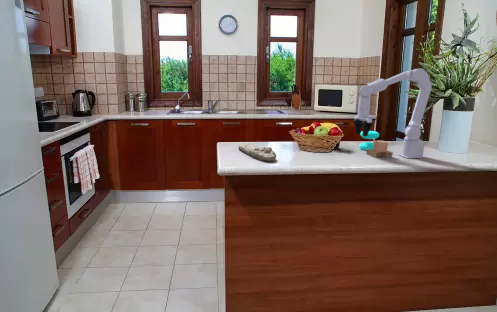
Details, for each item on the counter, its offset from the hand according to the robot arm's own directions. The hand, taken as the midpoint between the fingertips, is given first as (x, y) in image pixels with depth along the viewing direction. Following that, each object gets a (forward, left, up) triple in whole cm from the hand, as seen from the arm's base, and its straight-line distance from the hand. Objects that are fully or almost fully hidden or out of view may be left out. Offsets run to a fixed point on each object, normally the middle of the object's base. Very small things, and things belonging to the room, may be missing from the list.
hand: (361, 134), depth 186 cm
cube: (-7, +7, -7) cm, 13 cm away
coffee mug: (+8, -13, -10) cm, 18 cm away
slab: (-7, +7, -10) cm, 14 cm away
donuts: (-10, -9, -10) cm, 17 cm away
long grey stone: (+56, -2, -10) cm, 57 cm away
